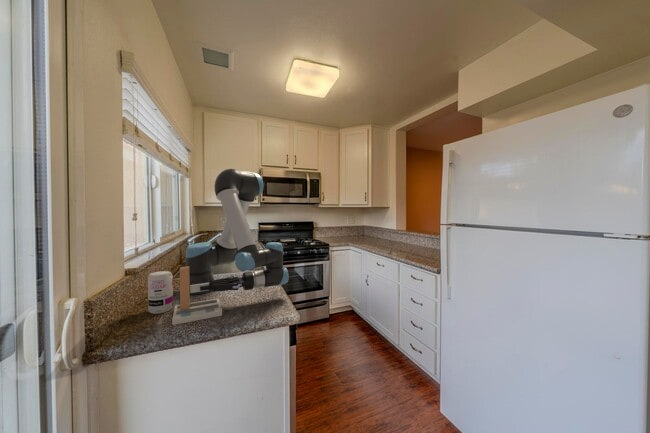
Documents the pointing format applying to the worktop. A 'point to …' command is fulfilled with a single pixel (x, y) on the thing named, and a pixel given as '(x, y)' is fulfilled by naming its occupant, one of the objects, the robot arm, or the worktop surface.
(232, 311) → the worktop surface
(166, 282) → the supplement can
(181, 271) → the orange rectangular block
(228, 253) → the robot arm
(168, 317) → the worktop surface
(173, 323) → the switch base
